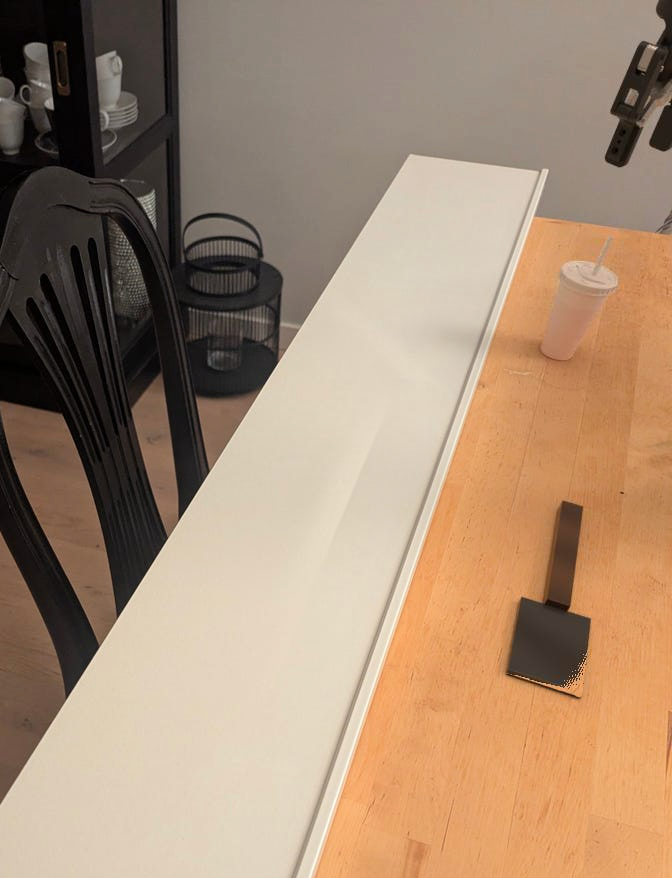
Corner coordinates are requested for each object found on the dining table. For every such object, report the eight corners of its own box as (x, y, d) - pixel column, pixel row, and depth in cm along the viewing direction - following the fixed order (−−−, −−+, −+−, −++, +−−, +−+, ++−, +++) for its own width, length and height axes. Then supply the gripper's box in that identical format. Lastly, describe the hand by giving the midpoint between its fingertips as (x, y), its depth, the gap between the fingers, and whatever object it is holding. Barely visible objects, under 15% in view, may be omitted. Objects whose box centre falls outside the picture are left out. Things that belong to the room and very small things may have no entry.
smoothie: (552, 370, 105) (604, 252, 95) (518, 341, 109) (564, 224, 99) (594, 362, 107) (649, 245, 97) (559, 334, 111) (609, 218, 101)
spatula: (537, 503, 89) (541, 493, 88) (599, 521, 87) (604, 512, 87) (505, 674, 73) (510, 664, 72) (580, 698, 72) (586, 689, 71)
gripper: (724, -21, 74) (632, 185, 86) (799, -37, 81) (705, 156, 93) (642, -46, 77) (565, 155, 89) (722, -59, 84) (640, 130, 96)
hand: (637, 156), depth 91 cm, fingers open, 8 cm apart
